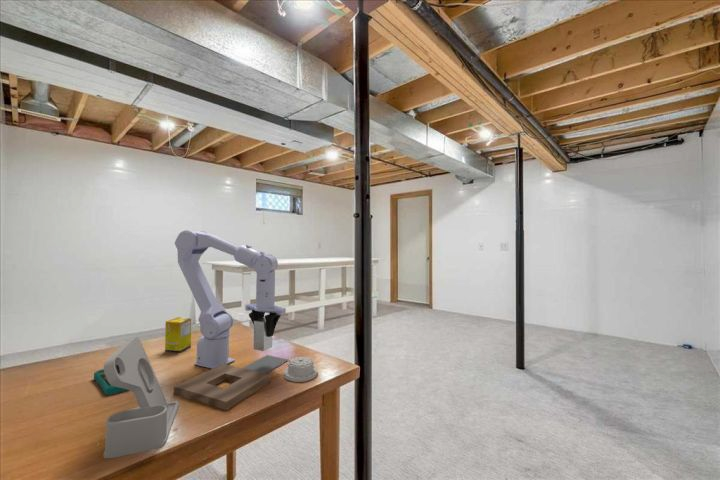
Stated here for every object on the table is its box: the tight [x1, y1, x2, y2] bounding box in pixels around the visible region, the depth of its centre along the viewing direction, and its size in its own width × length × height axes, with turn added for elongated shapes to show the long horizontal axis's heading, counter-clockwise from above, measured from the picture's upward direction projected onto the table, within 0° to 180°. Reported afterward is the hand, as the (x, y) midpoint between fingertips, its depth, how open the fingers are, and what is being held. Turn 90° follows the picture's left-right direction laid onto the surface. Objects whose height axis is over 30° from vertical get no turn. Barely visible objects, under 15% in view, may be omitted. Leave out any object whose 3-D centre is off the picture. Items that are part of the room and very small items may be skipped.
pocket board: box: [173, 364, 271, 411], centre depth 83 cm, size 18×16×2 cm
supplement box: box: [164, 316, 192, 354], centre depth 110 cm, size 6×6×11 cm
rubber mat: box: [242, 354, 289, 374], centre depth 98 cm, size 9×14×1 cm, turn 157°
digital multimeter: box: [93, 368, 128, 396], centre depth 84 cm, size 7×15×3 cm, turn 51°
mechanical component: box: [283, 356, 318, 383], centre depth 92 cm, size 10×4×10 cm
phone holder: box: [103, 336, 180, 459], centre depth 65 cm, size 17×10×18 cm, turn 22°
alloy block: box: [253, 317, 273, 352], centre depth 97 cm, size 4×4×9 cm
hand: (264, 335), depth 98 cm, fingers closed on alloy block, 4 cm apart
